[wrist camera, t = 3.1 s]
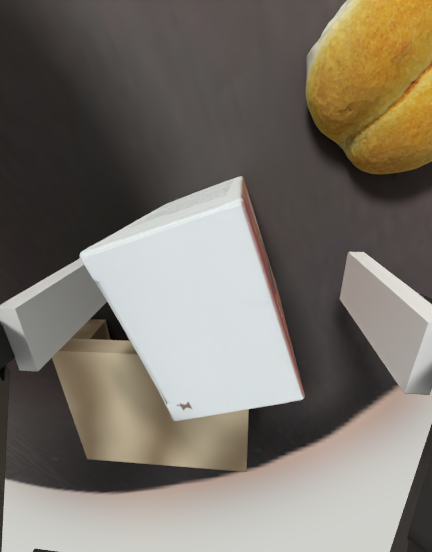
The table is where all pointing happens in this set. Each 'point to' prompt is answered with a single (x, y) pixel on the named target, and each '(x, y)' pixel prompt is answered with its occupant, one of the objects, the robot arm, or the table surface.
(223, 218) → the small box
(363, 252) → the robot arm
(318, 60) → the bread roll
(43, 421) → the table surface
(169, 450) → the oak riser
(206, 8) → the table surface
